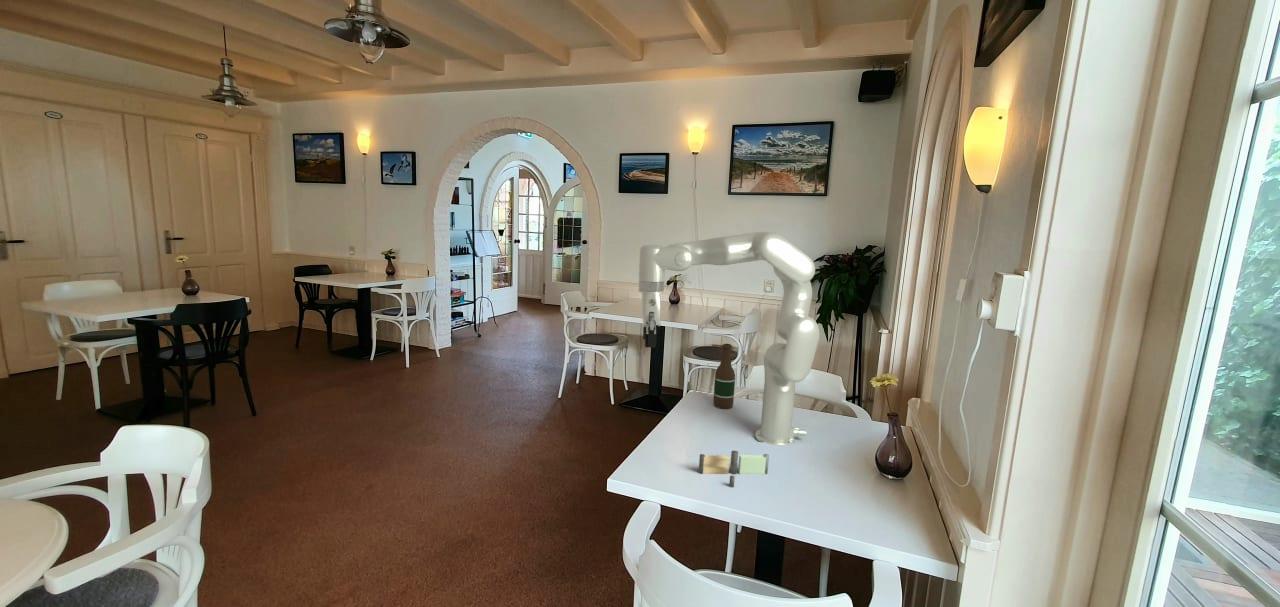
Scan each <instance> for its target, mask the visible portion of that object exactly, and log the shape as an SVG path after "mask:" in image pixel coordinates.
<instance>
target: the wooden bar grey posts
mask: <svg viewBox="0 0 1280 607" xmlns="http://www.w3.org/2000/svg"><path fill="white" fill-rule="evenodd" d="M738 458H739V451H738V450H732V451H731V454H730V457H729V455H713V454H712V455H709V454H708V455H705V454H704V453H701V454H699V459H698V460H699V462H698V474H699V475H700V474H701V475H728V474H731V475H730V476H729V487H730V488H734V487H735V480H736V479H735V478H736V477H735V476H734V475H737V472H738V462H739V459H738Z"/></svg>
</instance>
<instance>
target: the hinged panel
mask: <svg viewBox="0 0 1280 607" xmlns="http://www.w3.org/2000/svg"><path fill="white" fill-rule="evenodd" d="M738 458H739V459H738V467H737V472H738V473H739V474H740V475H767V474H768V472H769V462H770V461H769V459H770V454H768V453H764V454H739V455H738Z"/></svg>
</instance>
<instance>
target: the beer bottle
mask: <svg viewBox="0 0 1280 607" xmlns="http://www.w3.org/2000/svg"><path fill="white" fill-rule="evenodd" d="M721 347H722V351H721V360H720V364H719V365H718V367H717V368H716V370H715V373H714V387H713V400H712V401H713V406H715V407H714V408H718V409H721V410H728V409H733V406H734V398H735V386H736V385H735V384H736V374H735V370H734V368H733V367H732V349H733V346H732V344H730V343H724V344H722V346H721Z"/></svg>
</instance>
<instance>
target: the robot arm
mask: <svg viewBox="0 0 1280 607" xmlns="http://www.w3.org/2000/svg"><path fill="white" fill-rule="evenodd" d="M639 248H640V249H639V260H638V261H639V263H638V267H639V268H638V292H639V293H642V294H641V295H642V296H641V297H642V298H641V299H642V300H641V305H642V306H641V313H642V314H641V315H642V322H643V331H642V332H643V333H642V339H643V340H644V347H645V348H656V347H657V327H661V306H662V305H661V294H663V293H664V292H665V275H666V274H665V273H666V272H665V271H666V270H668V271H675V272H683V271H686V270H689V269H690V267H692V266H697V265H699V266H701V265H713V266H729V265H735V264H742V263H751V262H758V261H764V262H767V263H768V264H769V265H771V266H772V268H773V272H774V274H775V275H776V277H777V278H778V279H779V280H780V281H781V284H782V287H783V295H782V296H783V297H782V301H781V305H780V309H779V313H778V316H777V317H778V318H777V320H776V324H775V325H776V326H775V331H776V333H777V335H778V337H780V338H781V339H783V340H784V341H786V343H785V342H784V343H783V342H776V343H772V344H771V345H770V346H769V347H768V348H767V349H766V350H765V353H764V357H763V367H764V368H763V369H764V383H763V386H764V387H763V395H762V396H763V397H762V408H761V423H760V428H759V429H757V430H756V431H755V433H754V437H755V439H756V440H757V441H758V442H759V443H765V444H768V445H769V444H770V445H774V446H790V445H793V444H795V443H796V437H797V436H800V437H801V436H802V437H805V436H806V435H807V430H806V429H800V427H797V426H796V427H793V426H792V425H793V416H794V415H793V413H794V404H795V395H796V394H795V393H796V383H799V382H802V381H804V380H805V379H806V378H807V377H808V376H809V374H810V372H811V370H812V366H813V363H814V360H815V356H816V352H817V349H818V345H819V340H820V327H819V325H818V323H817V321H815V319H814V318H813V317H810V316H809V314H810V309H811V305H812V300H813V288H812V282H811V280H812V279H813V278H814V276H815V273H816V267H815V263H814V261H813V260H812V259H811V257H810V256H808V255H807V253H804V252H803V251H802V250H800V249H799V248H798V247H797V246H795V245H794V244H793V243H792V242H790V241H789V240H787V239H786V238H785V237H784V236H782V235H780V234H779V233H776V232H771V231H757V232H751V233H750V232H749V233H743V234H735V235H734V234H733V235H728V236H719V237H712V238H709V239H701V240H694V241H693V240H692V241H686V242H678V243H672V244H668V245H667V246H662V245H659V244H658V245H657V244H644V245H642V246H641V247H639Z"/></svg>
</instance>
